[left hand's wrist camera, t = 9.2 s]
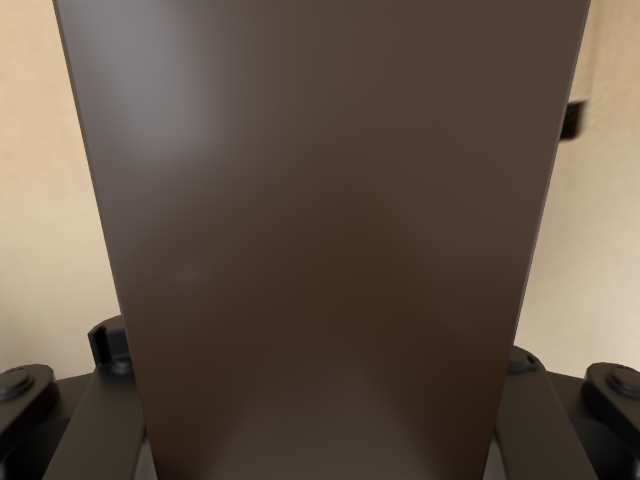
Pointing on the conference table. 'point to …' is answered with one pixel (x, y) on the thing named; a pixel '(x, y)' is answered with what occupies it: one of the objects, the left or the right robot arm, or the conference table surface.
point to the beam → (320, 220)
